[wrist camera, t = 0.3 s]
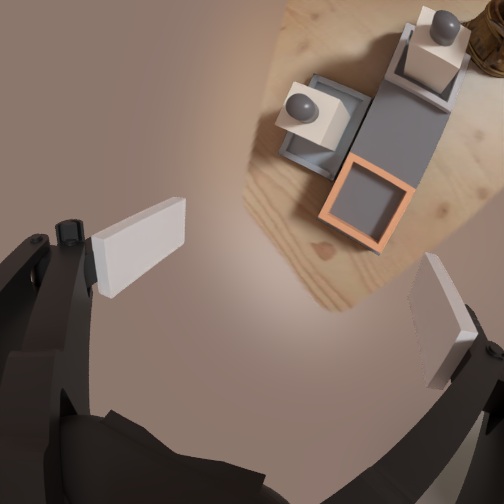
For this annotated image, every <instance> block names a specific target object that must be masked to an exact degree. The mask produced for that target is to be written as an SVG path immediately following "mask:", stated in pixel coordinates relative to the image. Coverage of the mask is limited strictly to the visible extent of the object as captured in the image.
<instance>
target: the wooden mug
mask: <svg viewBox="0 0 504 504" xmlns="http://www.w3.org/2000/svg"><path fill="white" fill-rule="evenodd" d="M465 27H466V28H467V29H469V30H471V34H470V38H469V41H468V45H467V48H466V52H467V53H468V55H470V56H471V59H472V60H473V61H474V62H475V63H476V64H477V65H478V66H479V67H480V68H481V69H482V70H484V71H485V72H486V73H488V74H491V75H493V76H496V77H500V78H504V0H491V1H490V2H489V3H488V4H487V5H486V7H485V10H484V11H483V12H482V13H481V14H479V15H478V16H477V17H476V18H475V19H472V20H471V21H469V22H468V23H467V24H466V26H465Z"/></svg>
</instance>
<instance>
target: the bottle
mask: <svg viewBox="0 0 504 504" xmlns="http://www.w3.org/2000/svg"><path fill="white" fill-rule="evenodd" d="M350 118H351V117H350V115H349V114H348V112H347V110H346V108H345V107H344V105H343V103H342V102H341V100H340V99H337V98H335V97H333V96H330V95H328V94H326V93H323V92H321V91H318V90H316V89H313V88H311V87H308V86H305V85H303V84H300V83H297V82H295V81H294V82H293V85H292V87H291V89H290V91H289V93H288V96H287V98H286V100H285V102H284V105H283V107H282V109H281V111H280V113H279V116H278V118H277V120H276V122H275V125H276V126H279V127H281V128H283V129H286V130H288V131H290V132H292V133H295V134H297V135H299V136H301V137H304V138H306V139H308V140H310V141H312V142H314V143H316V144H318V145H321V146H323V147H326V148H328V149H330V150H333V151H335V150H336V148H337V146H338V144H339V141H340V139H341V137H342V135H343V133H344V131H345V129H346V126H347V124H348V122H349V120H350Z"/></svg>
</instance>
